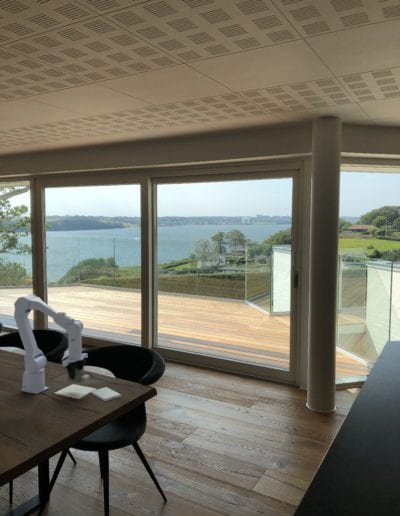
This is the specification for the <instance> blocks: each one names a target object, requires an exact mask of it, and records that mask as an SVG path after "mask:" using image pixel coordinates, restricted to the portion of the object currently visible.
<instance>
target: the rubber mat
mask: <svg viewBox="0 0 400 516" xmlns="http://www.w3.org/2000/svg"><path fill="white" fill-rule="evenodd" d="M94 390H98V388H94V387H90V386H85V385H80V384H74V383H73V384H71V385H68V386H65V387H64V388H62V389H59V390H58V391H56V392H55V391H54V394H55V395H58V396H62V397H67V398H71V397H72V399H77V400H80V399H83V398H84V397H86V396H88V395H89V394H91V391H94Z"/></svg>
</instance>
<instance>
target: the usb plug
mask: <svg viewBox="0 0 400 516" xmlns="http://www.w3.org/2000/svg"><path fill="white" fill-rule="evenodd" d="M89 378H90V375H89V374H86V373H85V369H84V368H83V369H79V368H76V370H75V379H70V376H69V373H68V371H67V370H66V380H67V381H68V382H71V383H78V384H81V383H84V382H86V379H89Z"/></svg>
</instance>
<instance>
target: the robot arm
mask: <svg viewBox="0 0 400 516" xmlns="http://www.w3.org/2000/svg"><path fill="white" fill-rule="evenodd" d="M13 306H14V313H13V317H14V318H13V319H14V322H15V325H16V328H17V330H18V333H19V336H20V339H21V342H22V345H23V347H24V352H25V355H24V357H23V358H24V359H23V360H24V369H25V371H24V372H23V374H22V389H21V392H25V393H30V394H35V395H37V394H39V393H42V392H44V391H46V390H48V389H50V387H49V386H45V384H46V383H45V380H46V379H45V366H46V365H47V363H48V360H47V357H46V356H45V355H44V353H43V351H42V350H41V349H40V348H38V345H37V341H36V338H35V335H34V332H33V330H32V326H31V324H30V323H31V322H30V320H29V315H30V313H31V311H40V312H41V313H43V314H45V315H46V316H48V317H50V318H52V321H53V323H55V324H56V325H58V326H59V327H61V328H62V329H64V330H65V332H66V334H67V335H68V336H67V337H68V338H67V339H68V357H67V358H66V359H64V360H62V365H61V366H62V367H65V369H66V372H67V371H68V373H69V376H70V379H75V370H76V368H79V369H84V367H85V365H86V363H87V358H88V357H89V355H88V352H87V353H85V352H84V353H82V352H83V349H82V348H83V347H82V346H83V343H82V342H83V341H82V339H83V338H82V337H83V336H82V331H83V330H84V324H83V322H81V320H79V319H76V318H72V317H71V316H69V315H67V312H65V311H57V310H56V309H54V308H53V307H51V306H50V305H49V304H47V303H46V302H45V301H43V300H42V299H41V297H39V296H37V295H36V294H33V293H30V294H28V295H25V296H20V297H18V298H17V299H16V301H15V302H14V304H13Z"/></svg>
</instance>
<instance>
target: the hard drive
mask: <svg viewBox="0 0 400 516" xmlns="http://www.w3.org/2000/svg"><path fill="white" fill-rule="evenodd" d="M90 394H91V395H93V396H95V397H96V398H98V399H99V400H102V401H103V402H108V401H111V400H115V399H117V398H121V397H122V394H120V393H118V392H117V391H115V390H113V389H111V388H109V387H107V386H105V387H101V388H97V390H94V391H91V393H90Z"/></svg>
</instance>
